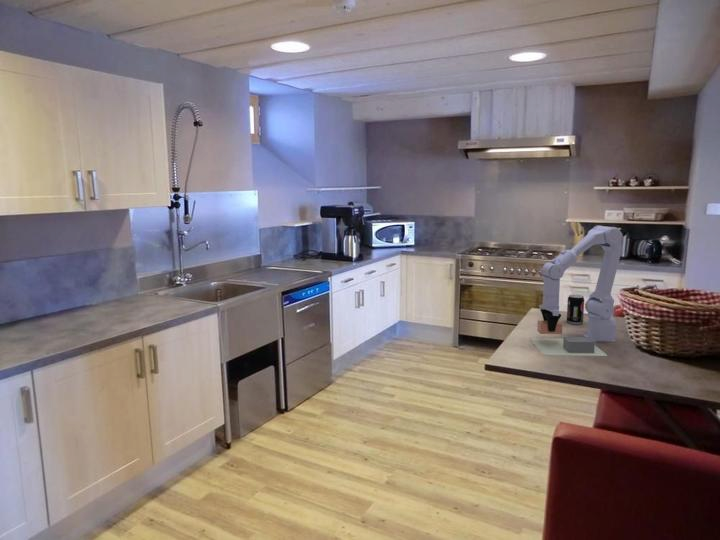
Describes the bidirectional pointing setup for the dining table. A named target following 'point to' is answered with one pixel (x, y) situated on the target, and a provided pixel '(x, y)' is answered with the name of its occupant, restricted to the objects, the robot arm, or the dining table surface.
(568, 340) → the grey base brick
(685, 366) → the dining table surface
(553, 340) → the baseplate
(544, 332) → the terracotta brick
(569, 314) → the beverage can
